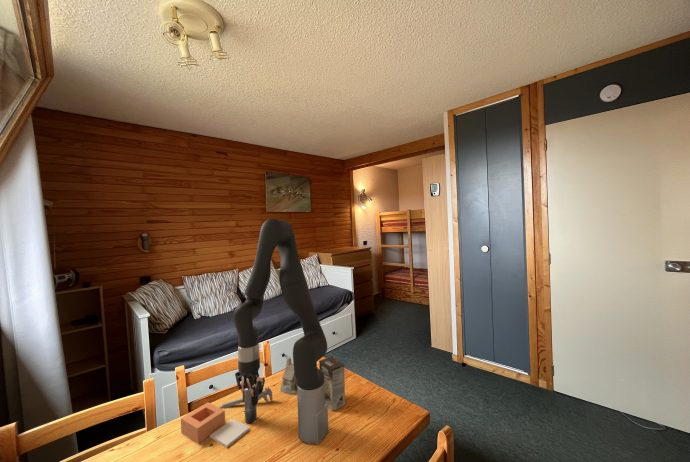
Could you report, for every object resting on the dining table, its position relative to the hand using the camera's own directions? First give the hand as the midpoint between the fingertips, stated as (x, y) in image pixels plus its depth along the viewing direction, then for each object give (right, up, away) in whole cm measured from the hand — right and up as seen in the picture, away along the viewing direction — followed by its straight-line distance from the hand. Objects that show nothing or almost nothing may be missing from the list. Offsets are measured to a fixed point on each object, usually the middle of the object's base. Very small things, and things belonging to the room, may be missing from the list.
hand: (250, 402), depth 99 cm
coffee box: (+30, -6, +9) cm, 31 cm away
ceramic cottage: (+15, -6, +21) cm, 27 cm away
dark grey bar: (0, -6, 0) cm, 6 cm away
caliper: (-5, -7, +9) cm, 12 cm away
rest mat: (-5, -6, -6) cm, 10 cm away
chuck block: (-15, -7, -4) cm, 17 cm away
